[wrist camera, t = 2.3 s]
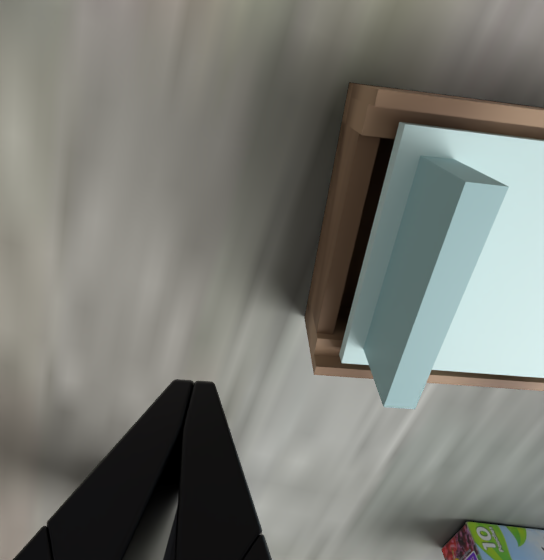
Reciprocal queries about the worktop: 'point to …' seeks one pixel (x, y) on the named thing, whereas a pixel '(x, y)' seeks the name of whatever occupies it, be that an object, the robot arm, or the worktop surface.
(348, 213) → the walnut box
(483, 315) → the lid
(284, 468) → the worktop surface
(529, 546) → the snack box
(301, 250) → the worktop surface
